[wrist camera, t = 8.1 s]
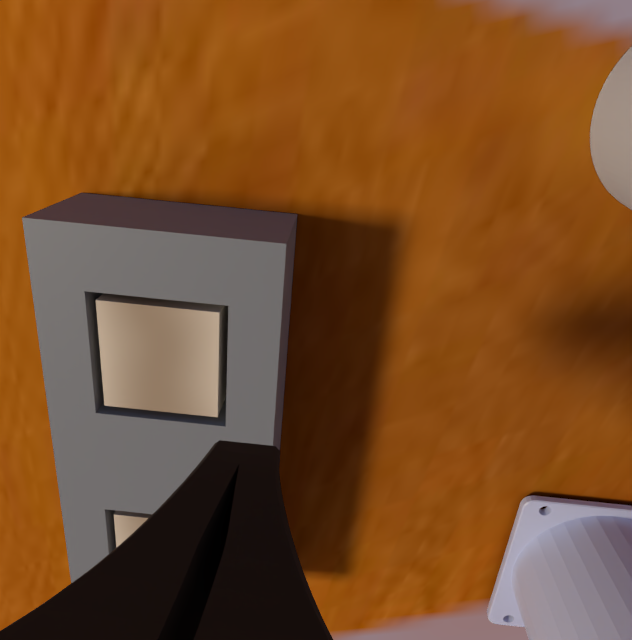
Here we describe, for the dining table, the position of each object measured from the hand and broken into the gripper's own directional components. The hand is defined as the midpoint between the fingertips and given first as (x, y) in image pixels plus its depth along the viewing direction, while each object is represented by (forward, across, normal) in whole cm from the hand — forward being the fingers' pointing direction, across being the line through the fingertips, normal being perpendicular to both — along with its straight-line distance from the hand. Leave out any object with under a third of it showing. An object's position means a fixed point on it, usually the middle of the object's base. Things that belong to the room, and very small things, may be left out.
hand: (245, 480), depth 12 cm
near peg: (+10, +4, +1) cm, 11 cm away
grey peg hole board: (+10, +4, +6) cm, 12 cm away
